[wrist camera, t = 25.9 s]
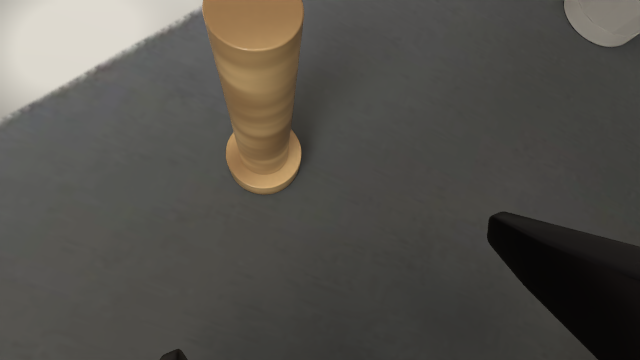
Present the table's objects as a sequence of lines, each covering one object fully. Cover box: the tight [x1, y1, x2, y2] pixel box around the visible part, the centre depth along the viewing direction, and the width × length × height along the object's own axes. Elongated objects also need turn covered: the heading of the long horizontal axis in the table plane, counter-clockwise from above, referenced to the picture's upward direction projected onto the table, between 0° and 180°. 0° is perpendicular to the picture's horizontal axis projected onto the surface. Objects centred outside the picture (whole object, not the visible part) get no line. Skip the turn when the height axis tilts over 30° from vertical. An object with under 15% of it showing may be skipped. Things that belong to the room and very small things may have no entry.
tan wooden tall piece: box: [202, 0, 304, 194], centre depth 16 cm, size 4×4×13 cm
